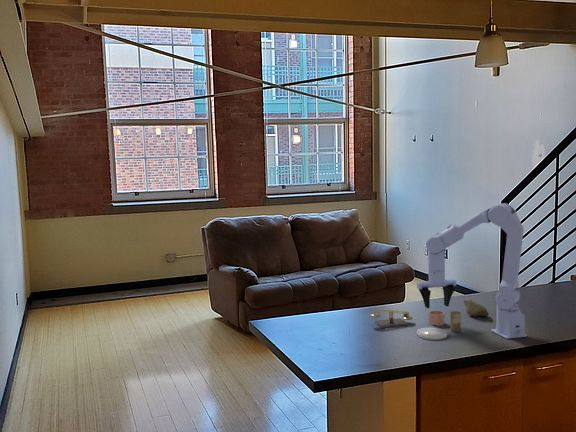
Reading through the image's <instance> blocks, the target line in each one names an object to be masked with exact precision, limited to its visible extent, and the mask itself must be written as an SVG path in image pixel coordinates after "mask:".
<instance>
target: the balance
mask: <svg viewBox="0 0 576 432" xmlns="http://www.w3.org/2000/svg"><path fill="white" fill-rule="evenodd" d="M372 311H373V312H372V313H369V314H368V317H369V318H379V317H381V314H380V313H376V312H384V313H388V319H379V320H375V321H374V324H375V325H377V326H378V327H380V328H381V329H384V328H394V327H395V328H396V326H397V327H404V326H403V325H407V326H408V322H407V321H411V320H413V319H414V317H413V316H411V315H410V311H403V310H393V309H392V310H391V309H384V308H383V309H380V308H372ZM395 313H396V314H403V316H401V318H400V317H399V318H394V314H395Z"/></svg>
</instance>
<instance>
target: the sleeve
mask: <svg viewBox="0 0 576 432" xmlns="http://www.w3.org/2000/svg"><path fill="white" fill-rule="evenodd" d="M445 315H446V314H445V312H444V311H442V310H430V311H428V325H430V324H431V325H430V326H434V325H436V327H439V326H441V327H442V326H444V325H445V324H446V321H445V319H446V316H445Z"/></svg>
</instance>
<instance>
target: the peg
mask: <svg viewBox="0 0 576 432" xmlns="http://www.w3.org/2000/svg"><path fill="white" fill-rule="evenodd" d="M461 318H462V313H461V311H453V310H452V311H451V312H450V332H451V333H460V332H462V331H461V329H462V326H461V325H462V323H461V322H462V321H461V320H462V319H461Z"/></svg>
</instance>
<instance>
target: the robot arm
mask: <svg viewBox="0 0 576 432" xmlns="http://www.w3.org/2000/svg"><path fill="white" fill-rule="evenodd" d="M490 223H492V224H494V225H496V226H497V227H499V228H501V229H502V230H503V232H505V234H506V242H505V243H506V244H505V248H504V249H505V251H504V259H503V266H502V267H503V268H502V277H501V282H500V284H499V288H498V289H499V290H498V292H497V294H496V295H495V298H494V302H495V304H496V320H495V321H496V324H495V325H496V327H495V328H491V329H490V331H491V332H492V333H495V334H497V335H498V336H501V337H503V338H505V339H516V338H525V337H528V334H526V316H525V315H524V313H523V312H521V310H520V306H519V304H518V302H519V301H520V300H521V292H520V289H519V287H520V286H519V285H520V284H519V274H520V263H521V254H522V247H523V238H524V226H523V225H522V222H521V220H520V218H519V216H518V213H517V210H516V209H514V208H513V206H512V205H510V204H508V203H506V202H504V203H503V202H502V203H500V204H496V205H493V206H492V207H490V208H486V209H485V210H482V211H480V212H478V213H477V214H475V215H474V216H472V217H470V218H469V219H468V220H465V221H464V222H463V223H461V224H460V225H459V224H458V225H457V224H453V225H452V224H449V225H447V226H446V229H444V230H442V231H441V232H437V233H436V236H432V237H429V239H428V240H427V241H426V243H425V248H426V250H427V251H428V260H427V261H428V280H425V281H420V282H417V283H416V288H417V289H418V291H419V293H420V295H421V298H422V301H423V302H424V303H423V304H424V307H425V309H430V304H431V303H430V301H431V300H430V298H431V292H432V291H431V290H430V288H442V291H443V305H444V306H445V307H449V306H450V303H451V302H450V301H451V298H452V297H453V295H454V293H455V291H456V287H457V280H455V279H446V269H445V268H446V266H445V265H446V257H445V256H446V255H445V254H446V252H445V250H447V248H449V247H452V246H453V245H454V244H456V243H458V242H459V241H461V240H463V238H464V235H465V233H467V232H468V231H470V230H472V229H474V228H476V227H478V226H479V225H481V224H490Z"/></svg>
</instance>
